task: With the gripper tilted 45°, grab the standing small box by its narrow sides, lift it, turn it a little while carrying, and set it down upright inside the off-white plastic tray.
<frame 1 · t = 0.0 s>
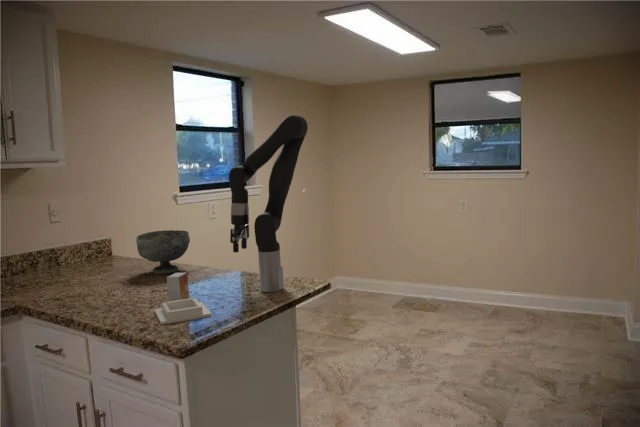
hand: (240, 250, 229), 17 cm above the worktop, tool pointing down, fingers open, 8 cm apart
off-white tray: (182, 313, 199), on the worktop
small box: (179, 299, 220), on the worktop
decorative bowl: (165, 271, 275), on the worktop
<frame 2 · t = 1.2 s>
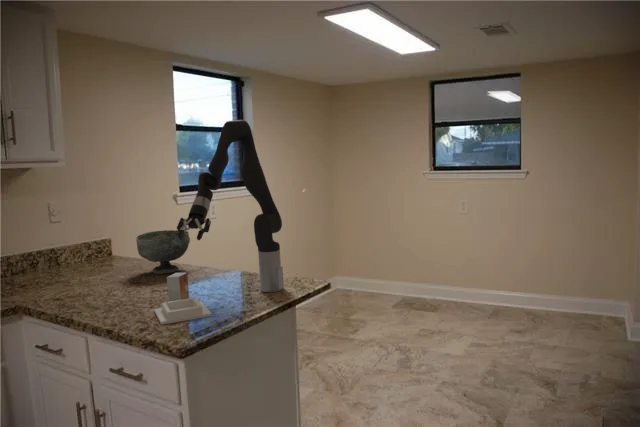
hand: (189, 239, 228), 23 cm above the worktop, tool tilted 45°, fingers open, 8 cm apart
nothing on the worktop moved.
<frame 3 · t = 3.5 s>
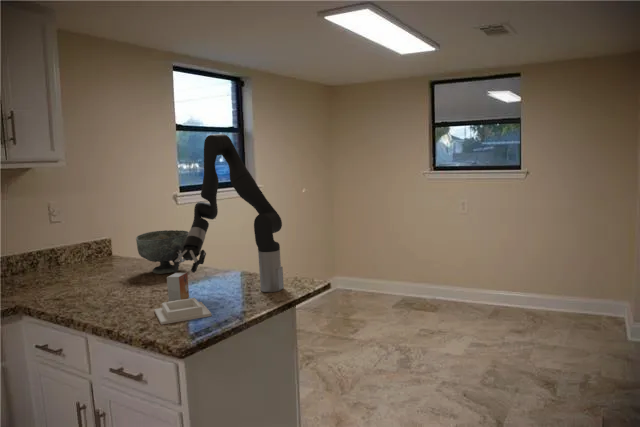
hand: (183, 271, 224), 10 cm above the worktop, tool tilted 45°, fingers open, 8 cm apart
nothing on the worktop moved.
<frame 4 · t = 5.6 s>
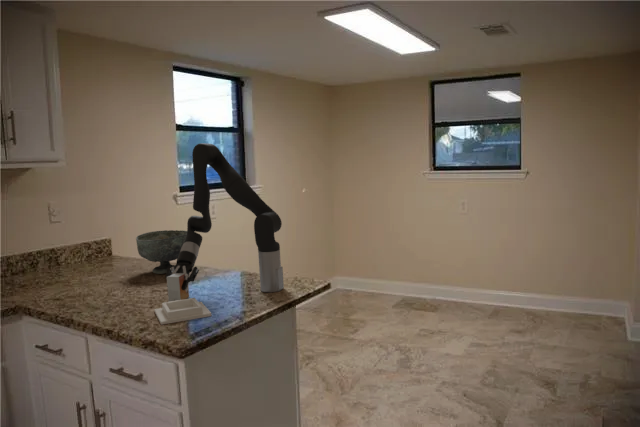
hand: (176, 289, 217), 5 cm above the worktop, tool tilted 45°, fingers closed on small box, 6 cm apart
small box: (179, 299, 220), on the worktop, touching gripper
everything else where it was.
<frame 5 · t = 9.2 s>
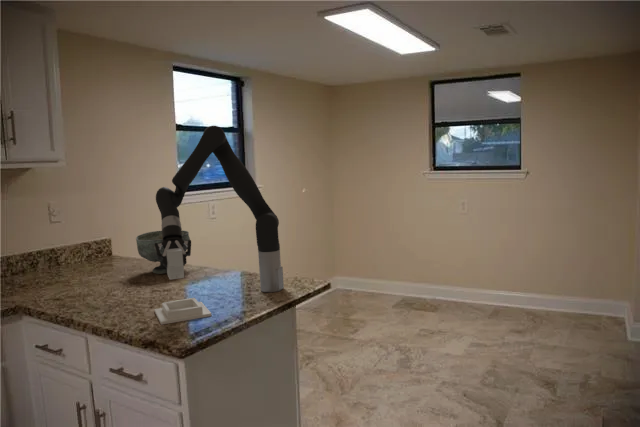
hand: (175, 265, 199), 18 cm above the worktop, tool tilted 45°, fingers closed on small box, 6 cm apart
small box: (175, 277, 201), point 13 cm above the worktop, touching gripper
everything else where it was.
when the fingers open (7 cm above the worktop, at t = 12.8 s): small box drops 1 cm, resting on off-white tray.
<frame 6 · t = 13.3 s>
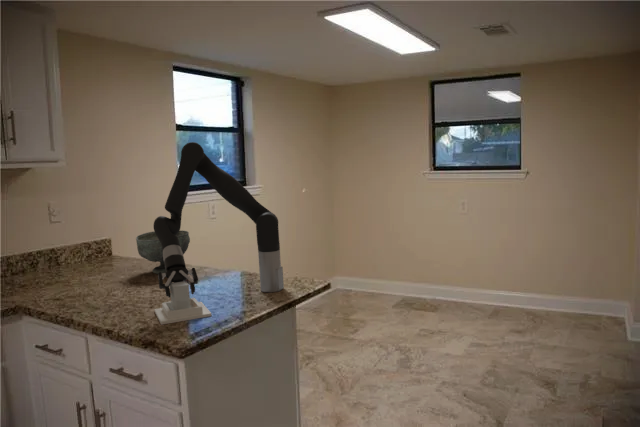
hand: (181, 294, 197), 8 cm above the worktop, tool tilted 45°, fingers open, 8 cm apart
small box: (181, 311, 199), point 1 cm above the worktop, touching off-white tray
everything else where it was.
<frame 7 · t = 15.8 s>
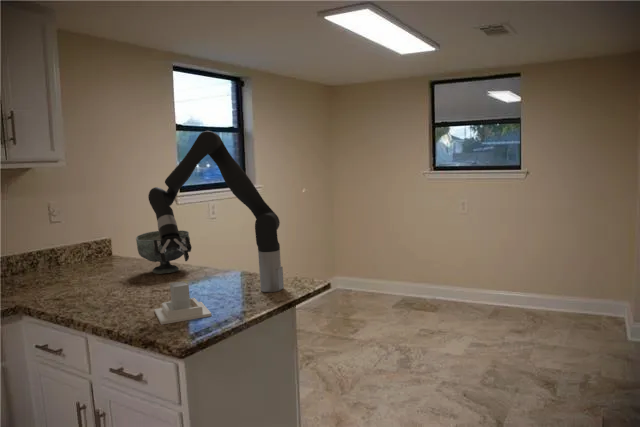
hand: (175, 261, 208), 18 cm above the worktop, tool tilted 45°, fingers open, 8 cm apart
nothing on the worktop moved.
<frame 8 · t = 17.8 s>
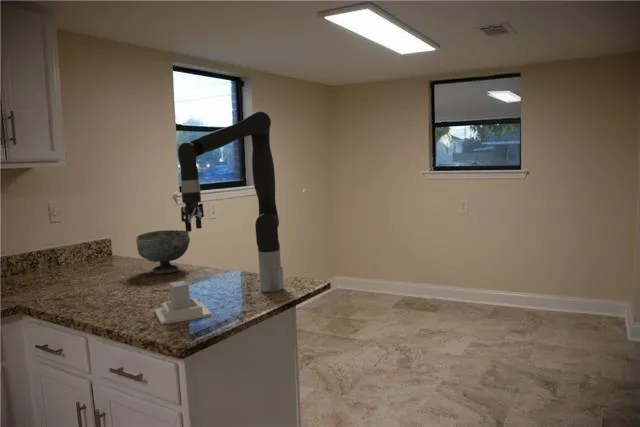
hand: (194, 229, 220), 28 cm above the worktop, tool pointing down, fingers open, 8 cm apart
nothing on the worktop moved.
at the end: small box inside the target area on the off-white tray (0.4 cm from its centre), point 0.8 cm above the off-white tray's base; small box tilted 0°; the gripper is holding nothing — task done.
